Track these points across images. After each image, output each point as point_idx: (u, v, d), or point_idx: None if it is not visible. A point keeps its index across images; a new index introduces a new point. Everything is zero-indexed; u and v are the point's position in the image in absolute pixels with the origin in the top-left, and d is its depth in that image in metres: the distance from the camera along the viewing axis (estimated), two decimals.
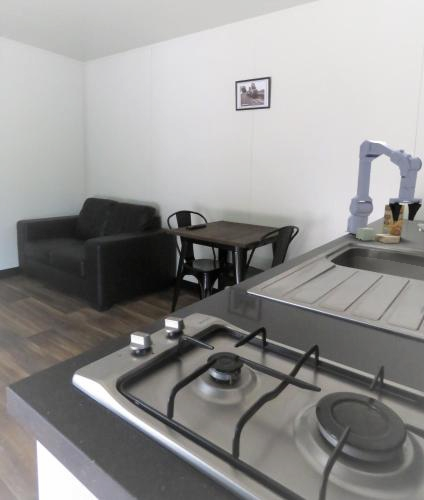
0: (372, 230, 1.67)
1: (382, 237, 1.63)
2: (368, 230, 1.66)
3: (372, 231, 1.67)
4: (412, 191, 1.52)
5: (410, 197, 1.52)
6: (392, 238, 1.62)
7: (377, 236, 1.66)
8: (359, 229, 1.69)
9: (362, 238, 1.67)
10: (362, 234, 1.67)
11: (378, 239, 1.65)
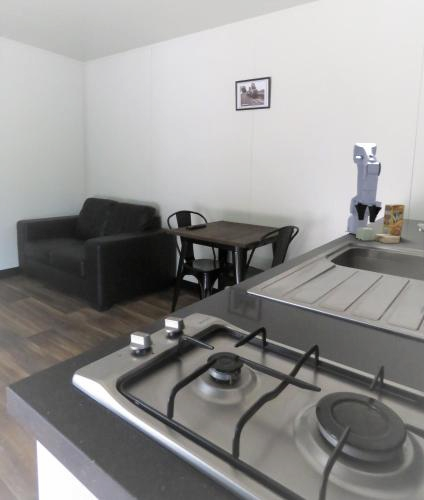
0: (372, 230, 1.67)
1: (382, 237, 1.63)
2: (368, 230, 1.66)
3: (372, 231, 1.67)
4: (363, 193, 1.65)
5: (362, 199, 1.66)
6: (392, 238, 1.62)
7: (377, 236, 1.66)
8: (359, 229, 1.69)
9: (362, 238, 1.67)
10: (362, 234, 1.67)
11: (378, 239, 1.65)
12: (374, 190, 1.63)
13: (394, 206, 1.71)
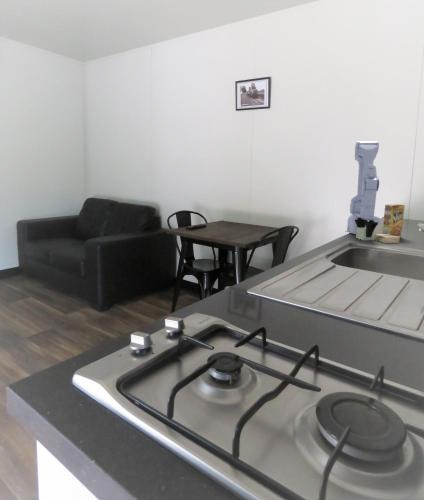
0: None
1: (382, 237, 1.63)
2: None
3: None
4: (362, 208, 1.66)
5: (361, 214, 1.67)
6: (392, 238, 1.62)
7: (377, 236, 1.66)
8: (359, 229, 1.69)
9: (362, 238, 1.67)
10: (362, 234, 1.67)
11: (378, 239, 1.65)
12: (372, 205, 1.64)
13: (394, 206, 1.71)
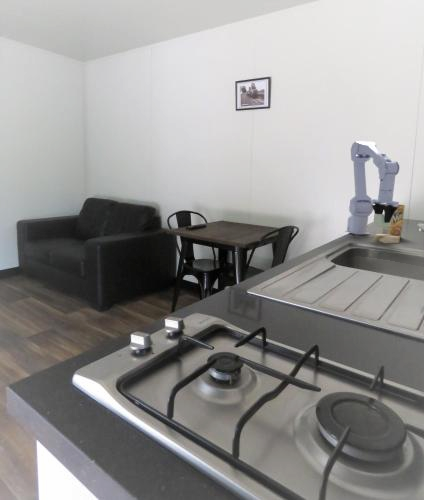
0: None
1: (382, 237, 1.63)
2: None
3: None
4: (380, 193, 1.61)
5: (379, 199, 1.62)
6: (392, 238, 1.62)
7: (377, 236, 1.66)
8: (376, 215, 1.64)
9: (379, 224, 1.62)
10: (379, 220, 1.62)
11: (378, 239, 1.65)
12: (392, 190, 1.60)
13: None
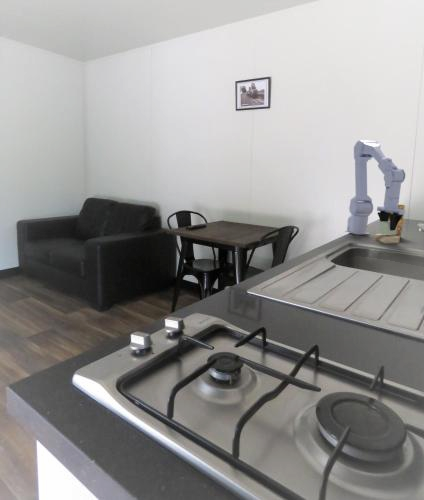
0: None
1: (382, 237, 1.63)
2: None
3: None
4: (385, 201, 1.61)
5: (384, 206, 1.62)
6: (392, 238, 1.62)
7: (377, 236, 1.66)
8: (382, 223, 1.64)
9: (385, 232, 1.62)
10: (385, 228, 1.62)
11: (378, 239, 1.65)
12: (398, 197, 1.59)
13: None
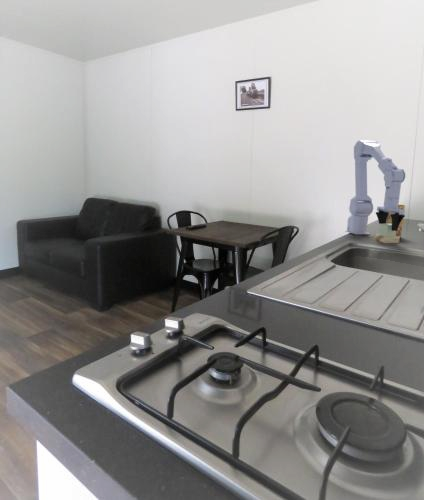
0: None
1: (382, 237, 1.63)
2: (391, 226, 1.62)
3: None
4: (385, 201, 1.61)
5: (384, 206, 1.62)
6: (392, 238, 1.62)
7: (377, 236, 1.66)
8: (381, 225, 1.64)
9: (385, 234, 1.62)
10: (385, 230, 1.62)
11: (378, 239, 1.65)
12: (398, 197, 1.59)
13: None
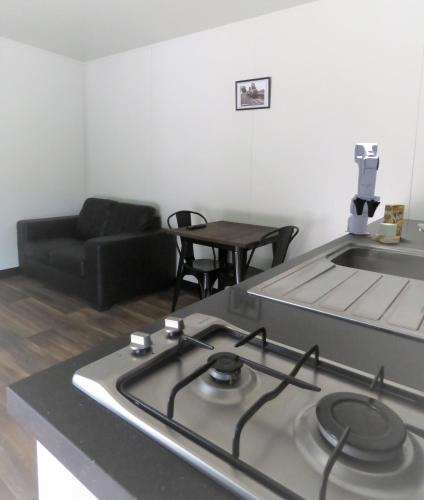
0: (395, 226, 1.62)
1: (382, 237, 1.63)
2: (391, 226, 1.61)
3: (396, 227, 1.62)
4: (362, 188, 1.63)
5: (361, 193, 1.64)
6: (392, 238, 1.62)
7: (377, 236, 1.66)
8: (382, 225, 1.64)
9: (385, 234, 1.62)
10: (385, 230, 1.62)
11: (378, 239, 1.65)
12: (372, 185, 1.61)
13: (394, 206, 1.71)
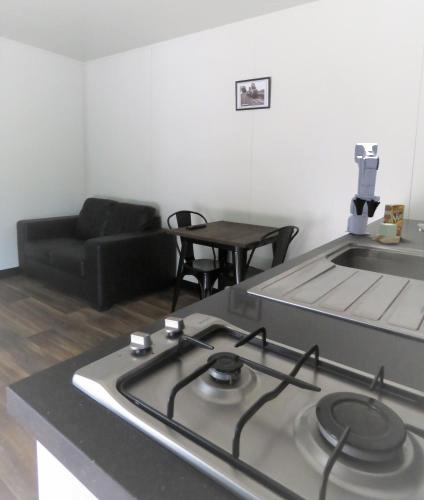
0: (395, 226, 1.62)
1: (382, 237, 1.63)
2: (391, 226, 1.61)
3: (396, 227, 1.62)
4: (361, 188, 1.63)
5: (360, 193, 1.64)
6: (392, 238, 1.62)
7: (377, 236, 1.66)
8: (382, 225, 1.64)
9: (385, 234, 1.62)
10: (385, 230, 1.62)
11: (378, 239, 1.65)
12: (372, 185, 1.61)
13: (394, 206, 1.71)
